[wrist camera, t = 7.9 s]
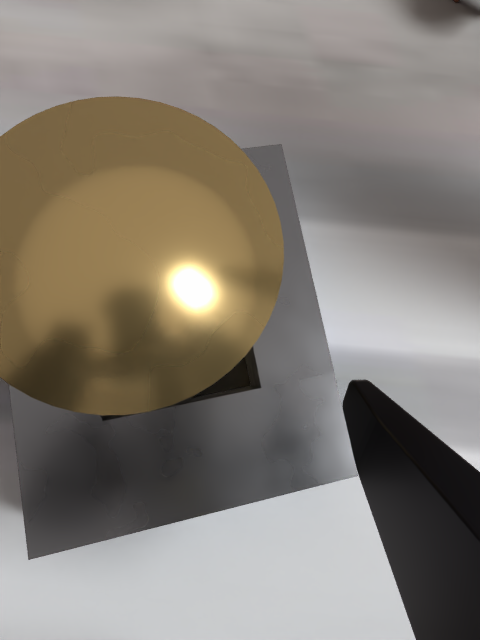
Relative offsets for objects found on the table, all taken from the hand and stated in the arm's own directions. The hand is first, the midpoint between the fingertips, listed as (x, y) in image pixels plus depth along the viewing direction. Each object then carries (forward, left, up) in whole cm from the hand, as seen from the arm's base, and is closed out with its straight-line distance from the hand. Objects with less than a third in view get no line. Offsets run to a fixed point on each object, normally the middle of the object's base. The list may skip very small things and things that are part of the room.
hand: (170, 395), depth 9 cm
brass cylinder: (+2, 0, -8) cm, 8 cm away
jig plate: (+2, 0, -8) cm, 8 cm away
